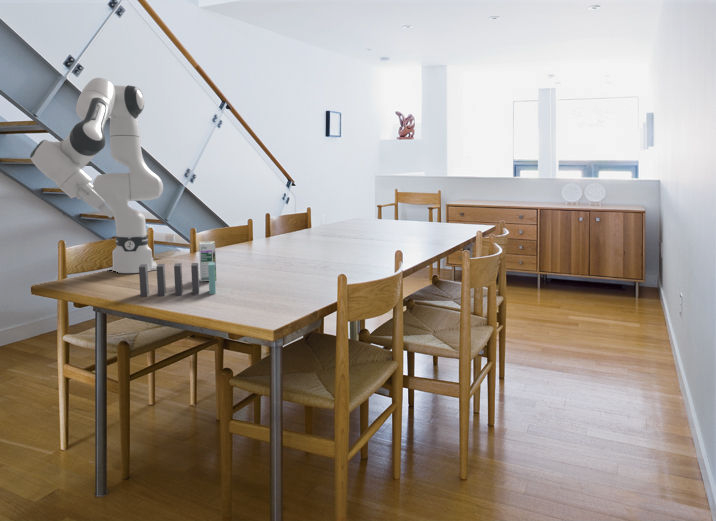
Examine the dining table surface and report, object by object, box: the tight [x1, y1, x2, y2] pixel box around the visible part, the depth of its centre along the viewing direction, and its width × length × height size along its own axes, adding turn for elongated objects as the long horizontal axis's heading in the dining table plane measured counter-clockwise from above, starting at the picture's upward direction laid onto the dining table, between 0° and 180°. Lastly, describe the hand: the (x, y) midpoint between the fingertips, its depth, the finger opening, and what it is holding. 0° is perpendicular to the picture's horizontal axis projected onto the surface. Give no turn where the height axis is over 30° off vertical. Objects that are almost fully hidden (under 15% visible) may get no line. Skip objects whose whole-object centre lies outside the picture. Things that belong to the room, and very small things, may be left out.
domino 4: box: [190, 262, 200, 296], centre depth 194 cm, size 2×5×10 cm, turn 13°
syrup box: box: [198, 241, 217, 283], centre depth 214 cm, size 6×6×14 cm
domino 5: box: [208, 262, 217, 295], centre depth 196 cm, size 2×5×10 cm, turn 12°
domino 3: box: [173, 262, 184, 296], centre depth 193 cm, size 2×5×10 cm, turn 12°
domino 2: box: [156, 263, 167, 297], centre depth 192 cm, size 2×5×10 cm, turn 13°
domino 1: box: [138, 264, 150, 298], centre depth 191 cm, size 2×5×10 cm, turn 13°
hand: (112, 216), depth 185 cm, fingers open, 8 cm apart
